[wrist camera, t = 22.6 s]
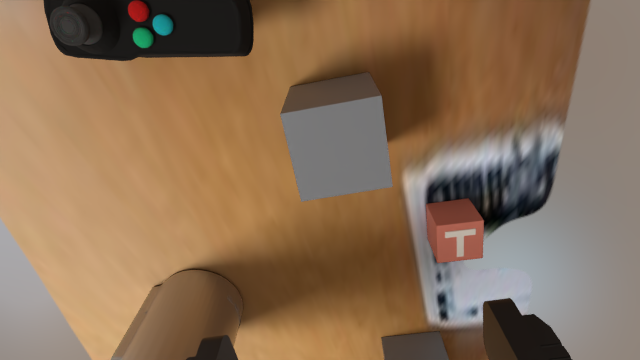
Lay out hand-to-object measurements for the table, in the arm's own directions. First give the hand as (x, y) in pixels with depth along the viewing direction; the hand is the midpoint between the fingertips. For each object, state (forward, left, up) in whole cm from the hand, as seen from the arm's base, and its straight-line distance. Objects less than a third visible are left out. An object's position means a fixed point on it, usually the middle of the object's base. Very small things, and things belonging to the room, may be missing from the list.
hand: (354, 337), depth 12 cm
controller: (-10, +10, -24) cm, 28 cm away
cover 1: (0, 0, -24) cm, 24 cm away
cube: (+9, -12, -24) cm, 28 cm away
